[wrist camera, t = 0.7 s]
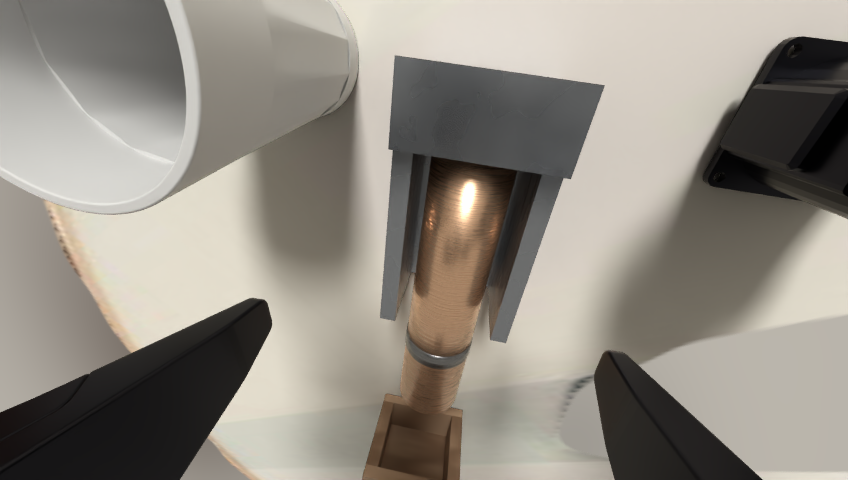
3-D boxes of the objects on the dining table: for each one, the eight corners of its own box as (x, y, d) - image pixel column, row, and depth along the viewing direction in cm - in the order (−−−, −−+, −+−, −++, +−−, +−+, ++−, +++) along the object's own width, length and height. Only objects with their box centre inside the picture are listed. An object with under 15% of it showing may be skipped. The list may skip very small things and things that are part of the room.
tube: (443, 86, 15) (433, 92, 12) (529, 99, 15) (546, 109, 11) (405, 358, 25) (393, 407, 21) (458, 369, 24) (455, 421, 21)
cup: (293, 156, 19) (79, 258, 9) (197, 19, 17) (-274, -62, 6) (402, 86, 17) (279, 117, 6) (310, -91, 14) (-189, -568, 3)
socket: (462, 410, 28) (458, 498, 23) (454, 435, 30) (449, 523, 25) (385, 393, 29) (362, 476, 23) (383, 419, 31) (360, 502, 25)
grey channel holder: (424, 60, 16) (394, 55, 10) (557, 78, 16) (604, 85, 10) (402, 260, 22) (375, 328, 16) (498, 278, 21) (506, 355, 16)
